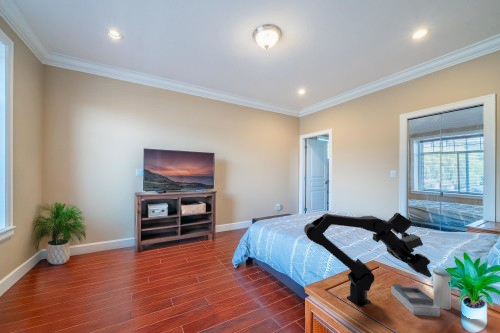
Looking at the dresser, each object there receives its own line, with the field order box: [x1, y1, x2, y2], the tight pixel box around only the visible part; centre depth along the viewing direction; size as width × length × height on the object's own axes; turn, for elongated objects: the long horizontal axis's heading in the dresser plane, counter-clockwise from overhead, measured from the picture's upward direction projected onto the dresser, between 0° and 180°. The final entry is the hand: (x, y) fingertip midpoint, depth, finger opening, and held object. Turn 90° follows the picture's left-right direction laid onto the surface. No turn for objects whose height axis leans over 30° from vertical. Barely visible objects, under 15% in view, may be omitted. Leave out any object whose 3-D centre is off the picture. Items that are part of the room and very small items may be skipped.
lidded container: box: [432, 267, 452, 310], centre depth 83 cm, size 5×5×13 cm
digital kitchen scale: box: [390, 283, 441, 317], centre depth 84 cm, size 9×14×4 cm, turn 175°
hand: (421, 270), depth 84 cm, fingers open, 9 cm apart
